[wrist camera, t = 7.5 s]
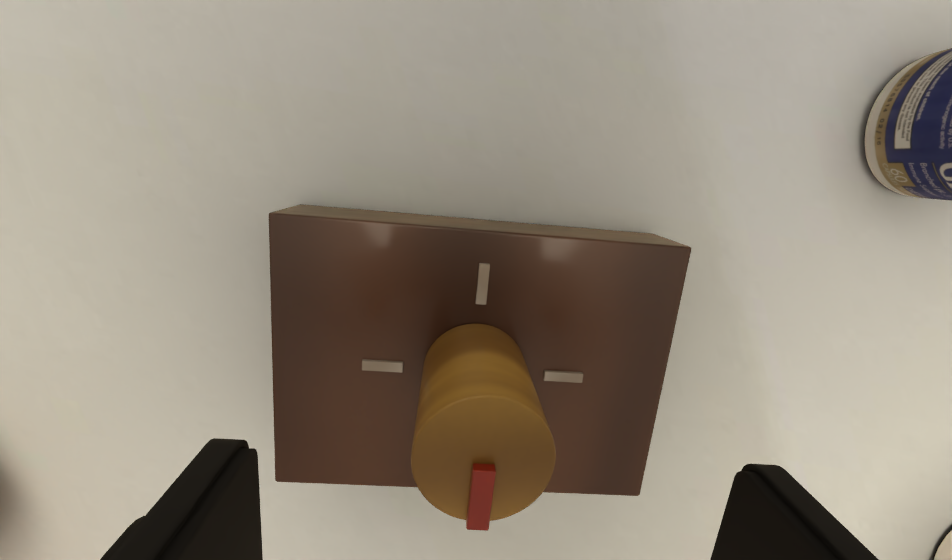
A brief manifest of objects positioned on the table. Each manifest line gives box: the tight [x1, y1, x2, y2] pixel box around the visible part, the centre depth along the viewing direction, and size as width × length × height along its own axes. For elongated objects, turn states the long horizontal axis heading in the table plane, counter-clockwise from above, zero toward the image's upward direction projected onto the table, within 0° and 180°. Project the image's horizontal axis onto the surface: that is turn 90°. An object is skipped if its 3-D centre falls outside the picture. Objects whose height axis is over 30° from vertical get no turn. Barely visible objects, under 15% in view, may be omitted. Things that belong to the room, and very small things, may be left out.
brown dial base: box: [269, 204, 691, 496], centre depth 17 cm, size 14×10×3 cm
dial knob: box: [411, 324, 556, 530], centre depth 13 cm, size 4×4×5 cm
